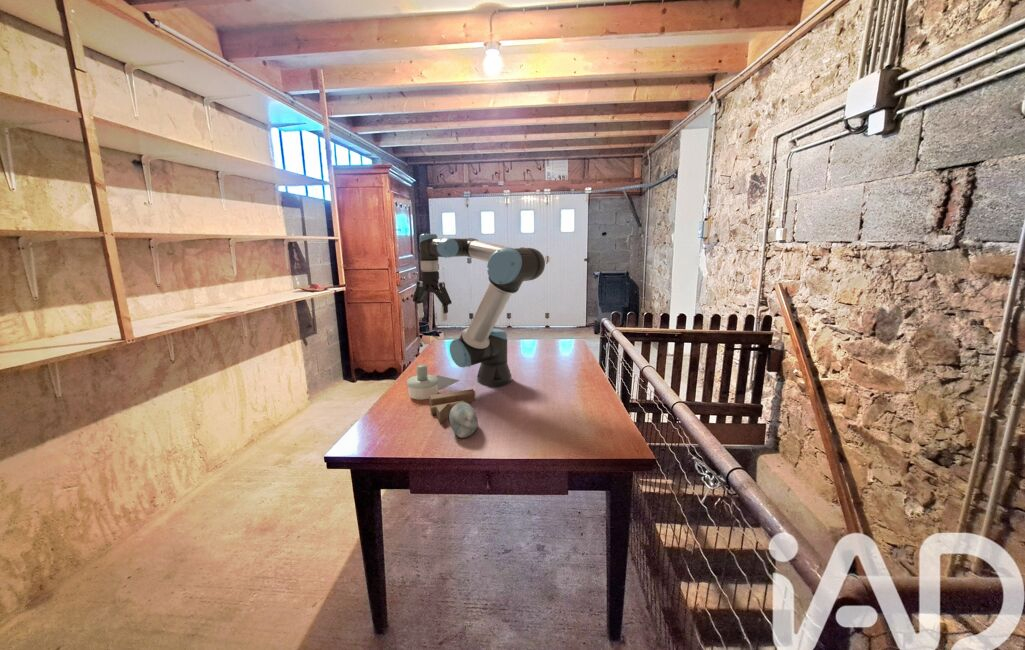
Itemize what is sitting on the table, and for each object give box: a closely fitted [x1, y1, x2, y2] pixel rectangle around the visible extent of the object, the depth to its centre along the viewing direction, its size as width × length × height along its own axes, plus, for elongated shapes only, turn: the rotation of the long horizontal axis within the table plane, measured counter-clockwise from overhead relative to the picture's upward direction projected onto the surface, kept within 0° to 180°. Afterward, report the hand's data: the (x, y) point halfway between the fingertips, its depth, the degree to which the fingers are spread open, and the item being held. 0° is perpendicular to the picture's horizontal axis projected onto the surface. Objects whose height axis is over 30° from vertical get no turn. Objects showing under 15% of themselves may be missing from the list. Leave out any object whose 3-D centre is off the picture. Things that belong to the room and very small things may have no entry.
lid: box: [406, 364, 438, 389], centre depth 152 cm, size 12×12×7 cm
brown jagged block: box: [428, 388, 476, 425], centre depth 139 cm, size 17×6×18 cm
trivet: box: [436, 374, 461, 391], centre depth 167 cm, size 13×13×1 cm
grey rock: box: [448, 402, 479, 439], centre depth 123 cm, size 14×10×10 cm
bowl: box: [407, 384, 439, 400], centre depth 153 cm, size 11×11×5 cm
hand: (432, 319), depth 171 cm, fingers open, 13 cm apart
